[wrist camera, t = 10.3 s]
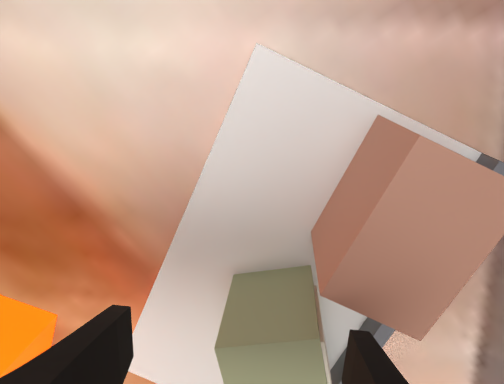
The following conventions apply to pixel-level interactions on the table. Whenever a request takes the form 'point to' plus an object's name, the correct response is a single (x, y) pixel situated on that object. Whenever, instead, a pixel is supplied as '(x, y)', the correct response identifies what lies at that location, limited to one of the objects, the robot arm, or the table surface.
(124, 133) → the table surface
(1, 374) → the orange juice
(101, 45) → the table surface
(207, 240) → the shelf board
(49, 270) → the table surface
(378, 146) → the tea box rust
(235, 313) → the tea box olive
